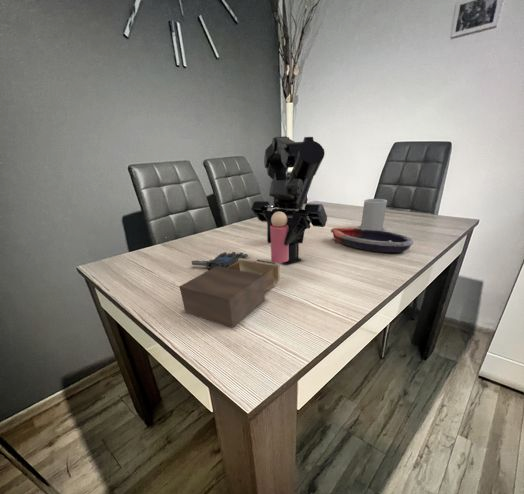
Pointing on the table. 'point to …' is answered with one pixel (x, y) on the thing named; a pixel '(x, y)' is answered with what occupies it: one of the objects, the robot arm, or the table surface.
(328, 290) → the table surface
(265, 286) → the drawer
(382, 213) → the cup
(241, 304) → the cabinet
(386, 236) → the dish
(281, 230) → the doll
